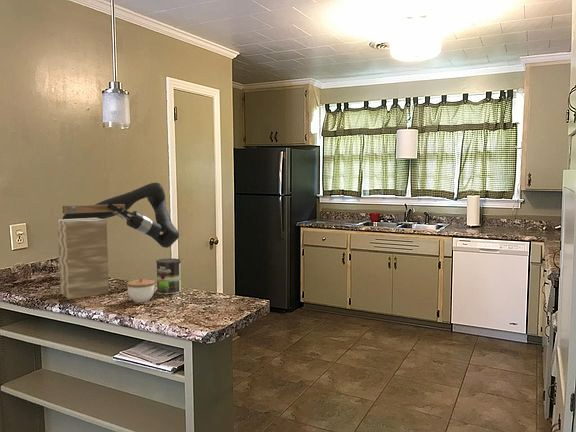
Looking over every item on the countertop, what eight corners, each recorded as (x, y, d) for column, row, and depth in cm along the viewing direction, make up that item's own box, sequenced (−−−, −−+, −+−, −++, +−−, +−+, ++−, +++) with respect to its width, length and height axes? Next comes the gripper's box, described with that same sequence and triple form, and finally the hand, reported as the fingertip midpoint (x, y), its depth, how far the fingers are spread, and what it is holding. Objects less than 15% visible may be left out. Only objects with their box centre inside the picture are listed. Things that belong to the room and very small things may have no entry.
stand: (60, 292, 204) (57, 219, 201) (98, 287, 214) (96, 217, 211) (69, 299, 193) (66, 221, 190) (108, 293, 203) (106, 219, 200)
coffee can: (173, 295, 198) (172, 263, 197) (152, 294, 201) (151, 261, 200) (185, 290, 208) (185, 258, 207) (165, 288, 211) (164, 257, 210)
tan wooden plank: (62, 213, 198) (62, 206, 198) (121, 210, 214) (121, 204, 213) (65, 213, 194) (65, 206, 194) (125, 211, 210) (125, 204, 210)
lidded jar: (138, 296, 197) (138, 274, 197) (160, 298, 194) (159, 276, 193) (121, 302, 187) (121, 279, 187) (144, 305, 184) (143, 281, 183)
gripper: (137, 214, 223) (105, 197, 213) (149, 216, 212) (116, 198, 202) (130, 228, 221) (97, 211, 211) (141, 231, 210) (107, 213, 200)
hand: (106, 205), depth 207 cm, fingers closed on tan wooden plank, 4 cm apart
